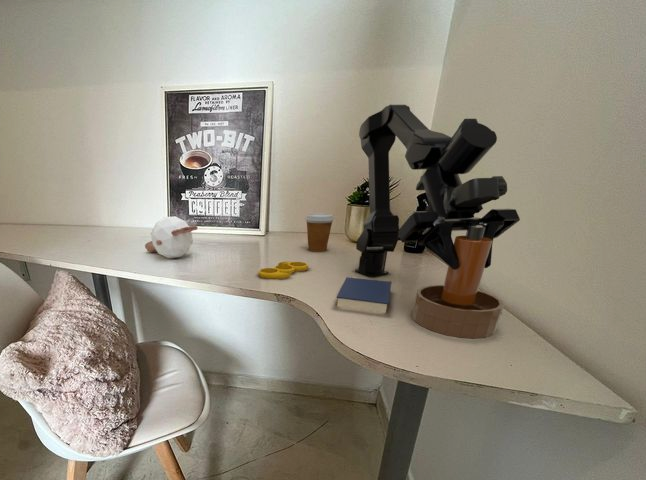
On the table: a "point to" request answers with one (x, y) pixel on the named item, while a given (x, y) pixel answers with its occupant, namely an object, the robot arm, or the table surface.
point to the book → (364, 294)
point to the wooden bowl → (457, 314)
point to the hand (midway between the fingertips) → (472, 267)
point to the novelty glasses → (282, 270)
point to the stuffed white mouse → (171, 237)
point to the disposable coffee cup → (318, 231)
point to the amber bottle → (467, 267)
